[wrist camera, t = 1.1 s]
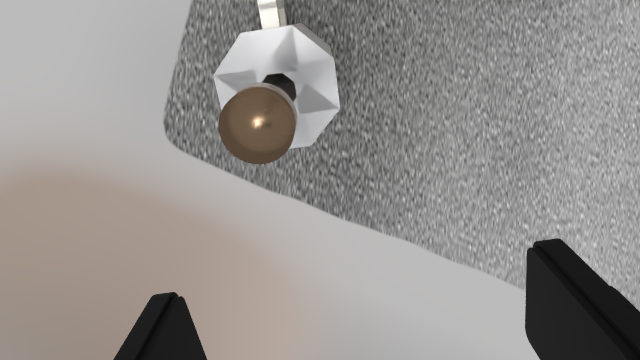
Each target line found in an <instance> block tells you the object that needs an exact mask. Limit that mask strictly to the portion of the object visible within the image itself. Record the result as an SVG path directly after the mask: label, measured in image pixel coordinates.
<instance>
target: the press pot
mask: <svg viewBox="0 0 640 360" xmlns="http://www.w3.org/2000/svg"><path fill="white" fill-rule="evenodd" d="M257 2H258V7H259V13H260V18H261V24H262V29H260V30H256V31H249V32H242V33H240V35H239V36H238V38H237V40H236V41H235V43H234V44H233V46H232V47H231V49H230V50H229V52H228V54H227V55H226V57H225V58H224V60H223V61H222V63H221V64H220V66H219V68H218V69H217V71H216V72H215V74H214V80H215V84H216V89H217V93H218V97H219V102H220V106H221V110H222V109H223V107H224V106H225V104H226V103H227V102H228V101H229V100H230V99H231V98H232V97H233V96H234V95H235V94H236V93H237V92H238V91H240V90H241V89H242V88H244V87H246V86H248V85H250V84H254V83H268V84H272V85H275V84H276V82H277V81H278V79H279V78H280V76H281V75H282V74H284V75H286V76H287V77H288V78H290V79H291V81H290V83H289V85H288V87H287V89H286V91H285V92H286V93H287V94H288V96H289V97H290V98H291V99H292V101H293V103H294V105H295V108H296V112H297V125H296V130H295V134H294V138H293V141H292V144H291V146H290V147H289V149H291V148H298V147H306V146H311V145H312V144H313V143H314V141H315V140H316V139H317V137H318V136H319V135H320V134H321V132H322V131H323V130H324V128H325V127H326V126H327V125H328V123H329V122H330V121H331V120H332V118H333V117H334V116H335V114H336V113H337V112H338V111H339V109H340V104H339V96H338V87H337V79H336V71H335V62H334V57H333V56H332V53H331V48H330V46H329V45H328V44H327V43H326V42H324V41H323V40H322V39H321V38H319V37H318V36H317V35H316V34H314V33H313V32H312V31H311V30H309V29H308V28H307V27H306V26H304V25H303V24H302V23H297V24H290V25H287V20H286V13H285V7H284V1H283V0H257Z"/></svg>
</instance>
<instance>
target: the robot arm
mask: <svg viewBox="0 0 640 360" xmlns="http://www.w3.org/2000/svg"><path fill="white" fill-rule="evenodd" d="M525 315H526V316H525V317H526V318H525V329H526V334H527V338H528V340H529V342H530V344H531V345H532V347H533V349H534V350H535V352H536V353H537V355H538V357H539V358H540V360H640V312H639V311H638V310H637V309H636V308H635V307H634V306H633V305H632V304H631V303H630V302H629V301H628V300H627V299H626V298H625V297H624V296H623V295H622V294H621V293H620V292H619V291H617V290H616V289H615V288H613V287H612V286H609V285H608V284H607V283H606V282H605V281H604V280H603V279H602V278H601V277H600V276H599V275H598V274H596V273H595V272H594V271H593V270H592V269H591V268H590V267H589V266H588V265H587V264H586V263H585V262H584V261H583V260H582V259H581V258H580V257H579V256H578V255H577V254H576V253H575V252H574V251H573V250H572V249H571V248H570V247H569V246H568V245H567V244H565V243H564V242H563V241H562V240H561V239H558V238H557V239H550V240H543V241H536V242H535V243H534V245H533V248H529V249H528V250H527V273H526V314H525ZM114 360H207V358H206V355H205V353H204V350H203V348H202V345H201V342H200V340H199V337H198V334H197V331H196V329H195V326H194V323H193V321H192V318H191V315H190V313H189V310H188V307H187V305H186V302H185V300H184V298H183V297H181V296H180V297H178V295H177V294H176V293H175V292H170V293H163V294H156V295H153V296H152V297H151V299H150V300H149V302H148V303H147V305H146V307H145V308H144V310H143V312H142V314H141V315H140V317H139V318H138V320H137V322H136V323H135V325H134V327H133V328H132V330H131V332H130V333H129V335H128V337H127V338H126V340H125V341H124V343H123V345H122V346H121V348H120V350H119V351H118V353H117V355H116V356H115V358H114Z"/></svg>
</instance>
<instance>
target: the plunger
mask: <svg viewBox="0 0 640 360" xmlns="http://www.w3.org/2000/svg"><path fill="white" fill-rule="evenodd" d="M290 81H291V79H290V78H288V77H287V76H286V75H284V74H282V75H281V76H280V78H279V79H278V81H277V82H276V84H275V85H272V84H268V83H254V84H250V85H248V86H246V87H244V88H242V89H241V90H240V91H238V92H237V93H236V94H235V95H234V96H233V97H232V98H231V99H230V100H229V101H228V102H227V103H226V104H225V106H224V107H223V109H222V111H221V114H220V117H219V133H220V136H221V139H222V141H223V143H224V145H225V147H226V148H227V149H228V150H229V151H230V152H231V153H232V154H233V155H234V156H235V157H237V158H239V159H240V160H242V161H245V162H248V163H252V164H266V163H270V162H273V161H275V160H277V159H279V158H280V157H281V156H283V155H284V154H285V153H286V152H287V150H288V149H289V147H290V146H291V144H292V141H293V138H294V134H295V130H296V125H297V112H296V108H295V105H294V103H293V101H292V99H291V98H290V97H289V96H288V94H287V93H286V92H285V91H286V89H287V87H288V85H289V83H290Z"/></svg>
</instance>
